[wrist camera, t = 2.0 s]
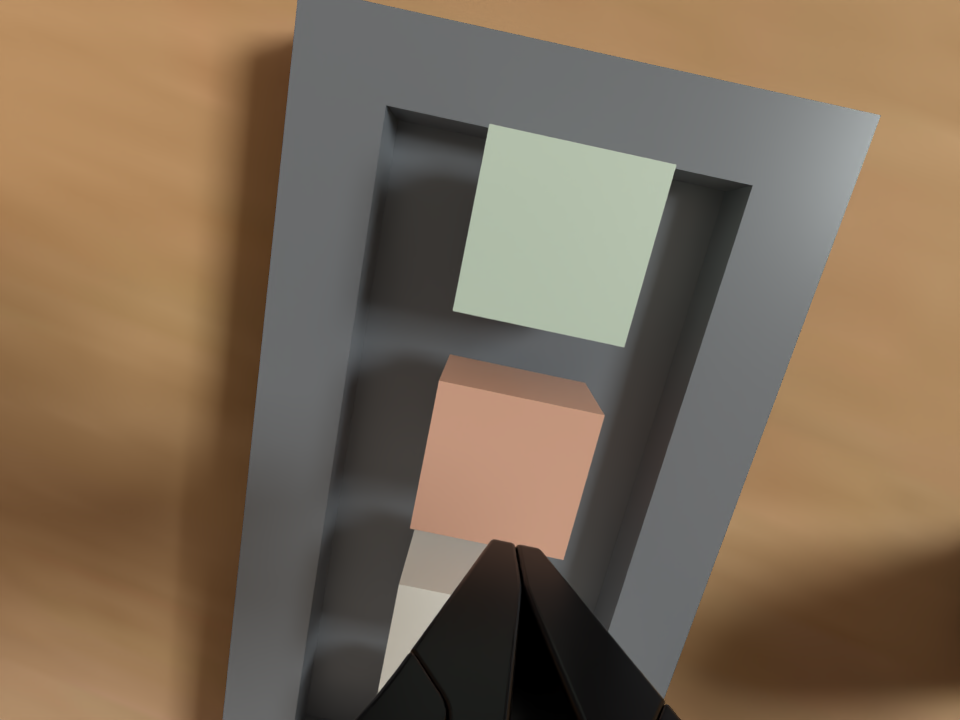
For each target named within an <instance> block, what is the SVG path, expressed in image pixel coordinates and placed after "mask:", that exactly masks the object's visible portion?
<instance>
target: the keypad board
mask: <svg viewBox="0 0 960 720" xmlns="http://www.w3.org/2000/svg"><path fill="white" fill-rule="evenodd" d="M880 116H881V115H877V114H872V113H868V112H863V111H859V110H854V109H850V108H845V107H841V106H836V105H832V104H827V103H823V102H818V101H814V100H809V99H805V98H800V97H796V96H791V95H787V94H782V93H778V92H773V91H769V90H764V89H760V88H755V87H751V86H746V85H742V84H737V83H733V82H728V81H724V80H719V79H715V78H710V77H706V76H701V75H697V74H692V73H688V72H683V71H678V70H674V69H669V68H665V67H660V66H656V65H651V64H647V63H642V62H638V61H633V60H629V59H624V58H620V57H615V56H611V55H606V54H602V53H597V52H593V51H588V50H584V49H579V48H575V47H570V46H566V45H561V44H557V43H552V42H548V41H543V40H539V39H534V38H530V37H525V36H521V35H516V34H512V33H507V32H503V31H498V30H494V29H489V28H485V27H480V26H476V25H471V24H467V23H462V22H458V21H453V20H449V19H444V18H440V17H435V16H431V15H426V14H422V13H417V12H413V11H408V10H404V9H399V8H395V7H390V6H385V5H381V4H376V3H372V2H367V1H363V0H298V1H297V11H296V20H295V30H294V40H293V49H292V59H291V68H290V78H289V87H288V97H287V107H286V116H285V126H284V135H283V145H282V155H281V164H280V174H279V183H278V193H277V203H276V212H275V222H274V231H273V241H272V251H271V260H270V270H269V279H268V289H267V298H266V308H265V318H264V327H263V337H262V346H261V356H260V366H259V375H258V385H257V394H256V404H255V414H254V423H253V433H252V442H251V452H250V462H249V471H248V481H247V490H246V500H245V509H244V519H243V529H242V538H241V548H240V557H239V567H238V577H237V586H236V596H235V605H234V615H233V625H232V634H231V644H230V653H229V663H228V672H227V682H226V692H225V701H224V711H223V720H354V719H355V718H356V717H357V716H358V715H359V714H360V713H361V712H362V711H363V709H364V708H365V707H366V706H367V705H368V704H369V703H370V702H371V701H372V700H373V699H374V697H375V696H376V695H377V693H378V688H379V683H380V678H381V673H382V668H383V663H384V658H385V653H386V647H387V642H388V637H389V632H390V627H391V622H392V617H393V612H394V607H395V602H396V597H397V592H398V586H399V582H400V579H401V575H402V572H403V568H404V565H405V561H406V558H407V554H408V551H409V547H410V544H411V540H412V537H413V533H414V530H415V529H410V525H411V520H412V515H413V510H414V505H415V500H416V495H417V490H418V485H419V480H420V474H421V469H422V464H423V459H424V454H425V449H426V444H427V439H428V434H429V429H430V424H431V419H432V413H433V408H434V403H435V398H436V393H437V388H438V383H439V379H440V377H441V374H442V372H443V370H444V367H445V365H446V362H447V360H448V357H449V355H450V354H451V355H456V356H460V357H465V358H470V359H475V360H479V361H484V362H489V363H494V364H498V365H503V366H508V367H512V368H517V369H522V370H527V371H531V372H536V373H541V374H546V375H550V376H555V377H560V378H565V379H569V380H574V381H579V382H584V383H586V385H587V387H588V388H589V390H590V392H591V393H592V395H593V397H594V398H595V400H596V402H597V403H598V405H599V407H600V408H601V410H602V412H603V413H604V415H605V416H604V420H603V423H602V427H601V430H600V434H599V437H598V441H597V444H596V448H595V451H594V455H593V458H592V462H591V465H590V469H589V472H588V476H587V479H586V483H585V486H584V490H583V493H582V497H581V500H580V504H579V507H578V511H577V514H576V518H575V521H574V525H573V528H572V532H571V535H570V539H569V542H568V546H567V549H566V553H565V556H564V560H561V559H556V558H552V557H547V556H546V557H547V558H548V559H549V560H550V561H551V563H552V564H553V565H554V566H555V568H556V569H557V570H558V571H559V572H560V574H561V575H562V576H563V577H564V579H565V580H566V581H567V582H568V583H569V585H570V586H571V587H572V588H573V589H574V591H575V592H576V593H577V594H578V596H579V597H580V598H581V599H582V600H583V602H584V603H585V604H586V605H587V606H588V608H589V609H590V610H591V611H592V613H593V614H594V615H595V616H596V617H597V619H598V620H599V621H600V622H601V623H602V625H603V626H604V627H605V628H606V630H607V631H608V632H609V633H610V634H611V636H612V637H613V638H614V639H615V641H616V642H617V643H618V644H619V645H620V647H621V648H622V649H623V650H624V651H625V653H626V654H627V655H628V656H629V658H630V659H631V660H632V661H633V662H634V664H635V665H636V666H637V667H638V668H639V670H640V671H641V672H642V673H643V675H644V676H645V677H646V678H647V679H648V681H649V682H650V683H651V684H652V685H653V687H654V688H655V689H656V690H657V692H658V693H659V694H660V695H661V696H662V698H663V699H664V697H665V695H666V692H667V689H668V687H669V684H670V681H671V679H672V676H673V673H674V671H675V668H676V665H677V662H678V660H679V657H680V654H681V652H682V649H683V646H684V644H685V641H686V638H687V636H688V633H689V630H690V627H691V625H692V622H693V619H694V617H695V614H696V611H697V609H698V606H699V603H700V601H701V598H702V595H703V593H704V590H705V587H706V584H707V582H708V579H709V576H710V574H711V571H712V568H713V566H714V563H715V560H716V558H717V555H718V552H719V549H720V547H721V544H722V541H723V539H724V536H725V533H726V531H727V528H728V525H729V523H730V520H731V517H732V514H733V512H734V509H735V506H736V504H737V501H738V498H739V496H740V493H741V490H742V488H743V485H744V482H745V479H746V477H747V474H748V471H749V469H750V466H751V463H752V461H753V458H754V455H755V453H756V450H757V447H758V444H759V442H760V439H761V436H762V434H763V431H764V428H765V426H766V423H767V420H768V418H769V415H770V412H771V409H772V407H773V404H774V401H775V399H776V396H777V393H778V391H779V388H780V385H781V383H782V380H783V377H784V374H785V372H786V369H787V366H788V364H789V361H790V358H791V356H792V353H793V350H794V348H795V345H796V342H797V339H798V337H799V334H800V331H801V329H802V326H803V323H804V321H805V318H806V315H807V313H808V310H809V307H810V304H811V302H812V299H813V296H814V294H815V291H816V288H817V286H818V283H819V280H820V278H821V275H822V272H823V269H824V267H825V264H826V261H827V259H828V256H829V253H830V251H831V248H832V245H833V243H834V240H835V237H836V234H837V232H838V229H839V226H840V224H841V221H842V218H843V216H844V213H845V210H846V208H847V205H848V202H849V199H850V197H851V194H852V191H853V189H854V186H855V183H856V181H857V178H858V175H859V173H860V170H861V167H862V164H863V162H864V159H865V156H866V154H867V151H868V148H869V146H870V143H871V140H872V138H873V135H874V132H875V129H876V127H877V124H878V121H879V119H880ZM489 124H493V125H498V126H502V127H507V128H511V129H516V130H520V131H525V132H530V133H534V134H539V135H543V136H548V137H552V138H557V139H562V140H566V141H571V142H575V143H580V144H584V145H589V146H594V147H598V148H603V149H607V150H612V151H616V152H621V153H626V154H630V155H635V156H639V157H644V158H648V159H653V160H658V161H662V162H667V163H671V164H676V168H675V172H674V175H673V179H672V182H671V186H670V189H669V193H668V196H667V200H666V203H665V207H664V210H663V214H662V217H661V221H660V224H659V228H658V231H657V235H656V238H655V242H654V245H653V249H652V252H651V256H650V259H649V263H648V266H647V270H646V273H645V277H644V280H643V284H642V287H641V291H640V294H639V298H638V301H637V305H636V308H635V312H634V315H633V319H632V322H631V326H630V329H629V333H628V336H627V340H626V343H625V347H620V346H615V345H611V344H606V343H601V342H597V341H592V340H587V339H582V338H578V337H573V336H568V335H564V334H559V333H554V332H550V331H545V330H540V329H535V328H531V327H526V326H521V325H517V324H512V323H507V322H502V321H498V320H493V319H488V318H484V317H479V316H474V315H470V314H465V313H460V312H455V311H453V307H454V301H455V296H456V291H457V286H458V281H459V276H460V271H461V266H462V261H463V256H464V251H465V246H466V240H467V235H468V230H469V225H470V220H471V215H472V210H473V205H474V200H475V195H476V190H477V184H478V179H479V174H480V169H481V164H482V159H483V154H484V149H485V144H486V139H487V134H488V128H489Z"/></svg>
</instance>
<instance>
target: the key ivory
mask: <svg viewBox="0 0 960 720" xmlns="http://www.w3.org/2000/svg"><path fill="white" fill-rule="evenodd" d="M487 545H488V544H483V543H479V542H474V541H469V540H464V539H459V538H454V537H449V536H444V535H440V534H435V533H430V532H425V531H420V530H414V533H413V537H412V540H411V544H410V547H409V551H408V554H407V558H406V561H405V565H404V568H403V572H402V575H401V579H400V582H399V586H398V592H397V597H396V602H395V607H394V612H393V617H392V622H391V627H390V632H389V637H388V642H387V647H386V653H385V658H384V663H383V668H382V673H381V678H380V683H379V688H378V692H379V691H380V690H381V689H382V687H383V686H384V685H385V684H386V682H387V681H388V680H389V678H390V677H391V676H392V675H393V673H394V672H395V671H396V670H397V668H398V667H399V665H400V664H401V663H402V661H403V660H404V659H405V657H406V656H407V654H409V653H410V651H411V649H412V648H413V647H414V645H415V644H416V643H417V641H418V640H419V638H420V637H421V636H422V634H423V633H424V631H425V630H426V629H427V627H428V626H429V625H430V623H431V622H432V620H433V619H434V618H435V616H436V615H437V614H438V612H439V611H440V609H441V608H442V607H443V605H444V604H445V603H446V601H447V600H448V598H449V597H450V596H451V594H452V593H453V592H454V590H455V589H456V587H457V586H458V585H459V583H460V582H461V581H462V579H463V578H464V576H465V575H466V574H467V572H468V571H469V570H470V568H471V567H472V565H473V564H474V563H475V561H476V560H477V558H478V557H479V556H480V554H481V553H482V552H483V550H484V549H485V547H486V546H487ZM377 694H378V693H377Z"/></svg>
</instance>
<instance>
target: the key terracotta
mask: <svg viewBox="0 0 960 720" xmlns="http://www.w3.org/2000/svg"><path fill="white" fill-rule="evenodd" d="M604 416H605V415H604V413H603V412H602V410H601V408H600V407H599V405H598V403H597V402H596V400H595V398H594V397H593V395H592V393H591V392H590V390H589V388H588V387H587V385H586V383H584V382H579V381H574V380H569V379H565V378H560V377H555V376H550V375H546V374H541V373H536V372H531V371H527V370H522V369H517V368H512V367H508V366H503V365H498V364H494V363H489V362H484V361H479V360H475V359H470V358H465V357H460V356H456V355H451V354H450V355H449V357H448V360H447V362H446V365H445V367H444V370H443V372H442V374H441V377H440V379H439V383H438V388H437V393H436V398H435V403H434V408H433V413H432V419H431V424H430V429H429V434H428V439H427V444H426V449H425V454H424V459H423V464H422V469H421V474H420V480H419V485H418V490H417V495H416V500H415V505H414V510H413V515H412V520H411V525H410V529H415V530H420V531H425V532H430V533H435V534H440V535H444V536H449V537H454V538H459V539H464V540H469V541H474V542H479V543H483V544H488V543H489V542H490V541H491V540H493V539H496V540H501V541H506V542H511V543H513V544H514V545H515V547H516V546H517V545H526V546H531V547H536V548H539V549H540V550H541V551H542V552H543V553H544V554H545V555H546V556H547V557H552V558H556V559H561V560H564V556H565V553H566V549H567V546H568V542H569V539H570V535H571V532H572V528H573V525H574V521H575V518H576V514H577V511H578V507H579V504H580V500H581V497H582V493H583V490H584V486H585V483H586V479H587V476H588V472H589V469H590V465H591V462H592V458H593V455H594V451H595V448H596V444H597V441H598V437H599V434H600V430H601V427H602V423H603V420H604Z"/></svg>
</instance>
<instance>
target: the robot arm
mask: <svg viewBox="0 0 960 720" xmlns="http://www.w3.org/2000/svg"><path fill="white" fill-rule="evenodd" d="M664 704H665V701H664V699H663V698H662V696H661V695H660V694H659V693H658V692H657V690H656V689H655V688H654V687H653V685H652V684H651V683H650V682H649V681H648V679H647V678H646V677H645V676H644V675H643V673H642V672H641V671H640V670H639V668H638V667H637V666H636V665H635V664H634V662H633V661H632V660H631V659H630V658H629V656H628V655H627V654H626V653H625V651H624V650H623V649H622V648H621V647H620V645H619V644H618V643H617V642H616V641H615V639H614V638H613V637H612V636H611V634H610V633H609V632H608V631H607V630H606V628H605V627H604V626H603V625H602V623H601V622H600V621H599V620H598V619H597V617H596V616H595V615H594V614H593V613H592V611H591V610H590V609H589V608H588V606H587V605H586V604H585V603H584V602H583V600H582V599H581V598H580V597H579V596H578V594H577V593H576V592H575V591H574V589H573V588H572V587H571V586H570V585H569V583H568V582H567V581H566V580H565V579H564V577H563V576H562V575H561V574H560V572H559V571H558V570H557V569H556V568H555V566H554V565H553V564H552V563H551V561H550V560H549V559H548V558H547V557H546V555H545V554H544V553H543V552H542V551H541V550H540V549H539V548H536V547H531V546H526V545H517V546H516V547H515V545H514V544H513V543H511V542H506V541H501V540H496V539H493V540H491V541H490V542H489V543H488V545H487V546H486V547H485V549H484V550H483V552H482V553H481V554H480V556H479V557H478V558H477V560H476V561H475V563H474V564H473V565H472V567H471V568H470V570H469V571H468V572H467V574H466V575H465V576H464V578H463V579H462V581H461V582H460V583H459V585H458V586H457V587H456V589H455V590H454V592H453V593H452V594H451V596H450V597H449V598H448V600H447V601H446V603H445V604H444V605H443V607H442V608H441V609H440V611H439V612H438V614H437V615H436V616H435V618H434V619H433V620H432V622H431V623H430V625H429V626H428V627H427V629H426V630H425V631H424V633H423V634H422V636H421V637H420V638H419V640H418V641H417V643H416V644H415V645H414V647H413V648H412V649H411V651H410V653H409V654H407V656H406V657H405V659H404V660H403V661H402V663H401V664H400V665H399V667H398V668H397V670H396V671H395V672H394V673H393V675H392V676H391V677H390V678H389V680H388V681H387V682H386V684H385V685H384V686H383V687H382V689H381V690H380V691H379V692H378V694H377V695H376V696H375V697H374V699H373V700H372V701H371V702H370V703H369V704H368V705H367V706H366V707H365V708H364V709H363V711H362V712H361V713H360V714H359V715H358V716H357V717H356V718H355V719H354V720H681V719H680V718H679V717H678V716H677V714H676V713H675V712H674V711H673V710H672V708H671V707H670V706H669V705H664Z"/></svg>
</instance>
